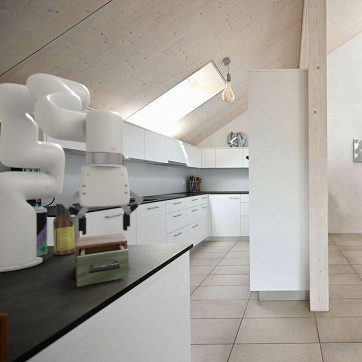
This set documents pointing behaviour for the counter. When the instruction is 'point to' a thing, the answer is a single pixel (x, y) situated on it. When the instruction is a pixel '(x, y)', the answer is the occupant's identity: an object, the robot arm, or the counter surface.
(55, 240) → the sauce bottle
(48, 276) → the counter surface
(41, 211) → the spray can
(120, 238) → the cabinet
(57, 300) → the counter surface
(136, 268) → the counter surface
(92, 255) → the drawer
